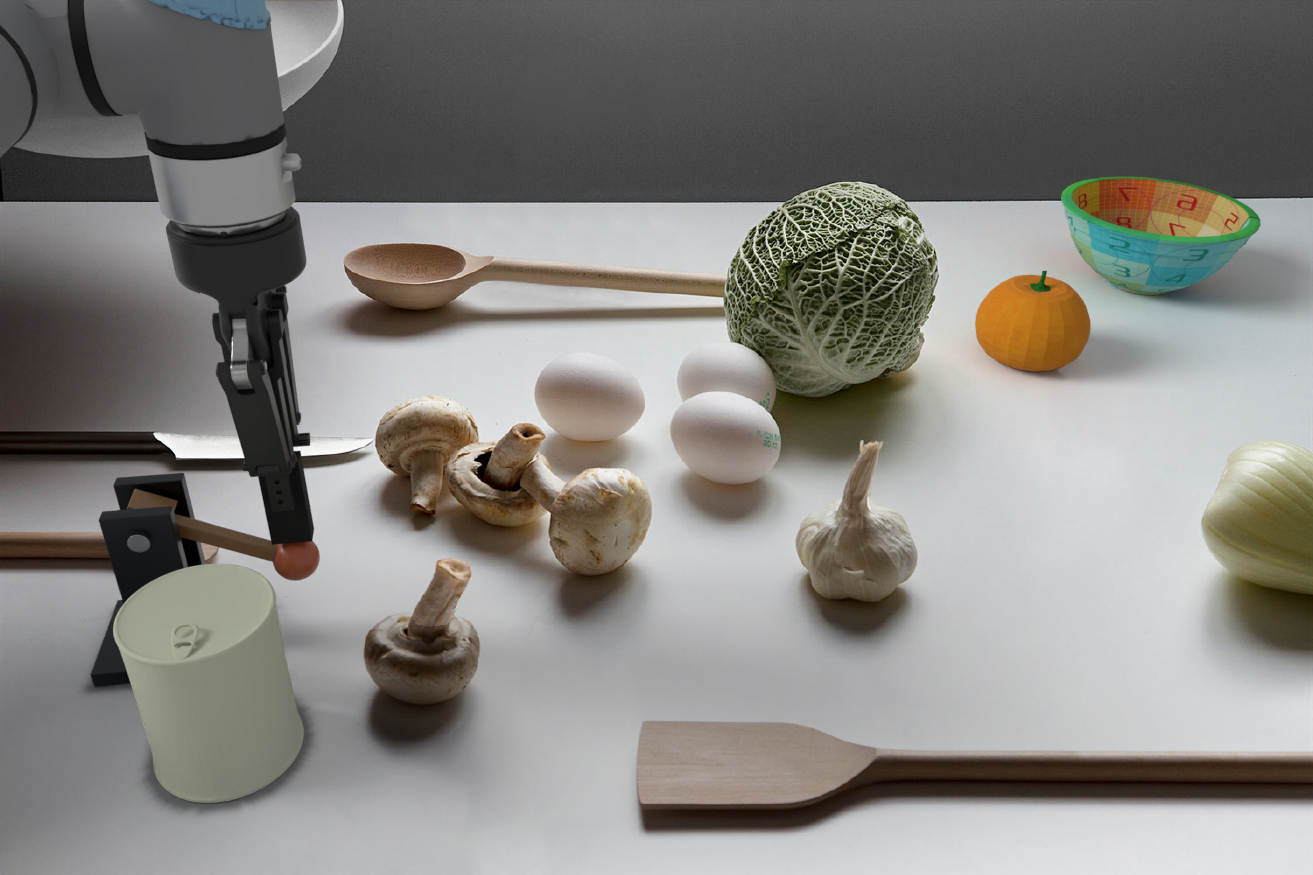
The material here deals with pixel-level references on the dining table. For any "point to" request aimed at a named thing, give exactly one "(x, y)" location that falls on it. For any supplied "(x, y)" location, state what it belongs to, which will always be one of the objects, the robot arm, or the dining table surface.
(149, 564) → the bracket
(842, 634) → the dining table surface
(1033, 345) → the fruit
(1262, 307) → the dining table surface
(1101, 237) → the bowl
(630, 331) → the dining table surface
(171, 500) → the lever
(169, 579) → the can
